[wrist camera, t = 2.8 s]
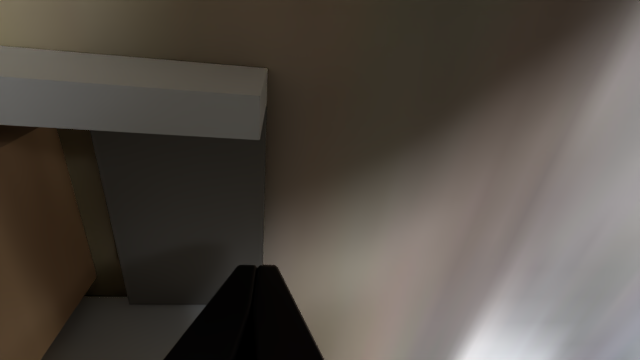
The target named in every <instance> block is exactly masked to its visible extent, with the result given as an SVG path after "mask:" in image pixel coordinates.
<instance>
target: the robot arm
mask: <svg viewBox="0 0 640 360" xmlns="http://www.w3.org/2000/svg"><path fill="white" fill-rule="evenodd" d="M163 360H324V358H323V356H322V354H321V352H320V350H319V348H318V346H317V344H316V342H315V340H314V338H313V336H312V334H311V332H310V330H309V328H308V326H307V324H306V322H305V320H304V318H303V316H302V315H301V313H300V311H299V309H298V307H297V305H296V303H295V301H294V299H293V297H292V295H291V293H290V291H289V289H288V287H287V285H286V283H285V281H284V279H283V277H282V275H281V273H280V271H279V269H278V267H277V266H275V265H259V266H258V268H257V266H256V265H238V266H237V267H236V268H235V270H234V271H233V272H232V273H231V275H230V276H229V277H228V278H227V280H226V281H225V282H224V283H223V285H222V286H221V287H220V288H219V290H218V291H217V292H216V293H215V295H214V296H213V297H212V299H211V300H210V301H209V302H208V304H207V305H206V306H205V307H204V309H203V310H202V311H201V312H200V314H199V315H198V316H197V317H196V319H195V320H194V321H193V322H192V324H191V325H190V326H189V328H188V329H187V330H186V331H185V333H184V334H183V335H182V336H181V338H180V339H179V340H178V341H177V343H176V344H175V345H174V346H173V348H172V349H171V350H170V351H169V353H168V354H167V355H166V357H165V358H164V359H163Z"/></svg>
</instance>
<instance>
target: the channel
mask: <svg viewBox="0 0 640 360" xmlns="http://www.w3.org/2000/svg"><path fill="white" fill-rule="evenodd" d="M267 76H268V68H258V67H246V66H234V65H222V64H210V63H198V62H187V61H175V60H163V59H151V58H139V57H127V56H115V55H104V54H92V53H80V52H68V51H56V50H44V49H32V48H21V47H9V46H0V125H13V126H30V127H47V128H64V129H80V130H90V132H91V137H92V141H93V146H94V150H95V155H96V159H97V163H98V168H99V172H100V177H101V181H102V185H103V190H104V194H105V199H106V203H107V208H108V212H109V216H110V221H111V225H112V230H113V234H114V239H115V243H116V247H117V252H118V256H119V261H120V265H121V269H122V274H123V278H124V283H125V287H126V292H127V296H128V297H83V298H82V300H81V301H80V303H79V304H78V306H77V307H76V308H75V310H74V311H73V313H72V314H71V316H70V317H69V319H68V320H67V322H66V323H65V325H64V326H63V328H62V329H61V331H60V332H59V334H58V335H57V337H56V338H55V339H54V341H53V342H52V344H51V345H50V347H49V348H48V350H47V351H46V353H45V354H44V356H43V357H42V359H41V360H163V359H164V358H165V357H166V355H167V354H168V353H169V351H170V350H171V349H172V348H173V346H174V345H175V344H176V343H177V341H178V340H179V339H180V338H181V336H182V335H183V334H184V333H185V331H186V330H187V329H188V328H189V326H190V325H191V324H192V322H193V321H194V320H195V319H196V317H197V316H198V315H199V314H200V312H201V311H202V310H203V309H204V307H205V306H206V305H207V304H208V302H209V301H210V300H211V299H212V297H213V296H214V295H215V293H216V292H217V291H218V290H219V288H220V287H221V286H222V285H223V283H224V282H225V281H226V280H227V278H228V277H229V276H230V275H231V273H232V272H233V271H234V270H235V268H236V267H237V266H238V265H256V266H257V268H258V266H259V265H263V233H264V193H265V154H266V115H267V106H266V104H267Z"/></svg>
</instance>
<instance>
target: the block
mask: <svg viewBox="0 0 640 360" xmlns="http://www.w3.org/2000/svg"><path fill="white" fill-rule="evenodd" d="M96 277H97V275H96V271H95V267H94V264H93V260H92V256H91V253H90V249H89V245H88V242H87V238H86V234H85V231H84V227H83V223H82V220H81V216H80V212H79V209H78V205H77V201H76V198H75V194H74V190H73V187H72V183H71V179H70V175H69V172H68V168H67V164H66V161H65V157H64V153H63V150H62V146H61V142H60V139H59V135H58V131H57V128H47V127H30V126H13V125H0V360H41V359H42V357H43V356H44V354H45V353H46V351H47V350H48V348H49V347H50V345H51V344H52V342H53V341H54V339H55V338H56V337H57V335H58V334H59V332H60V331H61V329H62V328H63V326H64V325H65V323H66V322H67V320H68V319H69V317H70V316H71V314H72V313H73V311H74V310H75V308H76V307H77V306H78V304H79V303H80V301H81V300H82V298H83V297H84V295H85V294H86V292H87V291H88V289H89V288H90V286H91V285H92V283H93V282H94V280H95V279H96Z"/></svg>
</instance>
